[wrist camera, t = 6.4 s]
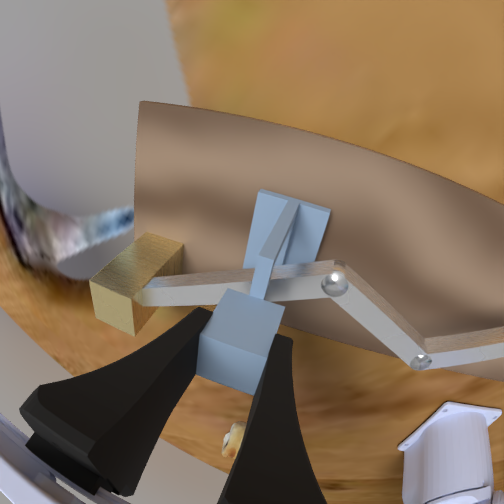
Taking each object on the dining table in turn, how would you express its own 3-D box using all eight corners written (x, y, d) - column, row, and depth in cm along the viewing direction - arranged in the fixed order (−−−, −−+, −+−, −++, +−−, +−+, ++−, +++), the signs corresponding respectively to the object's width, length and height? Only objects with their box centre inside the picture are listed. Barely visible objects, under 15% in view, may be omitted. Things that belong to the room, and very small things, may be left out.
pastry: (313, 441, 31) (307, 470, 28) (293, 459, 34) (286, 484, 31) (235, 415, 32) (223, 443, 29) (224, 436, 35) (213, 460, 32)
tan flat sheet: (502, 377, 20) (503, 381, 19) (138, 269, 25) (135, 272, 24) (586, 253, 13) (589, 256, 12) (144, 100, 18) (139, 101, 17)
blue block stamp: (331, 207, 17) (308, 325, 9) (302, 295, 20) (264, 423, 12) (261, 187, 18) (180, 282, 10) (242, 276, 21) (177, 391, 13)
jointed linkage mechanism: (556, 319, 15) (585, 379, 10) (148, 274, 24) (99, 326, 18) (583, 257, 13) (625, 312, 7) (134, 207, 21) (72, 251, 16)
